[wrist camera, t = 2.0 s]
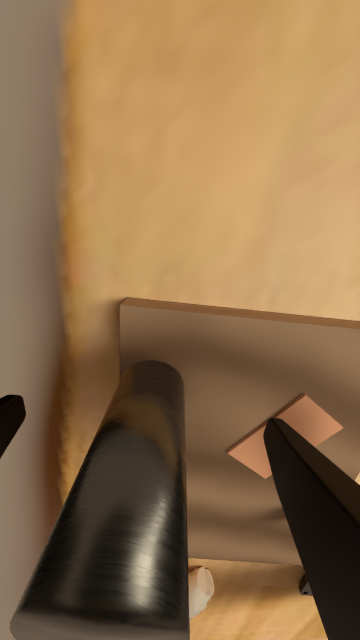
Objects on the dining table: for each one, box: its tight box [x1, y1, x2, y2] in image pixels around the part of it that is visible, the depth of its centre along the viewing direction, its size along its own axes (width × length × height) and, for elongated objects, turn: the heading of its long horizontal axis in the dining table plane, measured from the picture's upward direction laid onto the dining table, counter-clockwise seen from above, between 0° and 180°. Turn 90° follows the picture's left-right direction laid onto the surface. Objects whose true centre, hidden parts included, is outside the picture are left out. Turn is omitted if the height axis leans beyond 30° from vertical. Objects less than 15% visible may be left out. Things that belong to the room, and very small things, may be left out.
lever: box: [10, 360, 190, 640], centre depth 10 cm, size 19×4×8 cm, turn 174°
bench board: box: [120, 298, 360, 565], centre depth 13 cm, size 22×16×4 cm
